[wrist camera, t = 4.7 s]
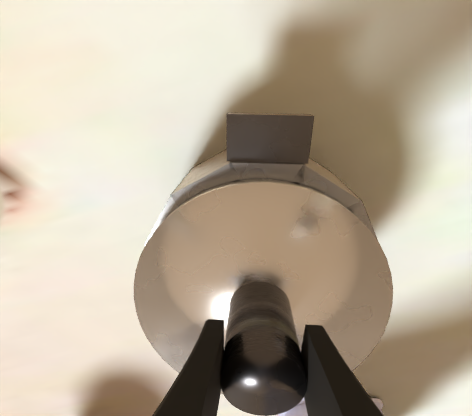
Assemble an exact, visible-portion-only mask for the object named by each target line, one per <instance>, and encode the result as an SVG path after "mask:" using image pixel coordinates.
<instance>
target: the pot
mask: <svg viewBox="0 0 472 416" xmlns="http://www.w3.org/2000/svg"><path fill="white" fill-rule="evenodd" d="M313 121H314V116H313V115H309V114H263V113H227V149H226V150H224V151H222V152H221V153H219V154H217V155H215V156H213V157H212V158H210V159H208V160H206V161H204V162H203V163H201V164H199V165H197V166H195V167H193V168H192V169H191V170H190V172H189V173H188V174H187V175H186V177H185V178H184V179H183V180H182V181H181V183H180V184H179V185H178V186H177V187H176V189H175V190H174V191H173V192H172V194H171V196H170V197H169V199H168V201H167V203H166V205H165V207H164V209H163V211H162V212H161V214H160V216H159V218H158V220H157V222H156V224H155V226H154V227H153V229H152V231H151V233H150V235H149V237H148V239H147V241H146V242H145V244H144V245H146V243H147V242H148V240H149V239H150V237H151V236H152V234H153V233H154V232H155V230H156V229H157V228H158V227H159V226H160V224H161V223H162V222H163V221H164V220H165V219H166V218H167V217H168V216H169V215H170V214H171V213H172V212H173V211H174V210H175V209H176V208H178V207H179V206H180V205H181V204H183V203H184V202H185V201H187V200H189V199H190V198H192V197H194V196H195V195H197V194H199V193H201V192H203V191H206V190H208V189H210V188H213V187H215V186H219V185H222V184H226V183H230V182H234V181H241V180H248V179H274V180H282V181H289V182H293V183H297V184H301V185H305V186H307V187H310V188H312V189H315V190H317V191H320V192H322V193H324V194H326V195H328V196H329V197H331V198H333V199H335V200H336V201H338V202H339V203H341V204H342V205H343V206H344V207H346V208H347V209H348V210H350V211H351V212H352V213H353V214H354V215H355V216H357V217H358V218H359V219H360V220H361V222H362V223H363V224H364V225H365V226H366V227H367V228H368V229H369V230H370V231H371V233H372V234H373V235H374V237H375V238H376V240H377V237H376V235H375V232H374V230H373V227H372V225H371V222H370V220H369V217H368V215H367V212H366V210H365V207H364V205H363V202H362V200H361V199H360V198H358V197H357V196H356V195H355V194H354V193H353V192H352V191H351V190H350V189H349V188H348V187H347V186H346V185H345V184H344V183H343V182H341V181H340V180H339V179H338V178H337V177H336V176H335V175H334V174H333V173H332V172H330V171H329V170H327V169H326V168H324V167H322V166H321V165H319V164H318V163H316V162H315V161H313V160H312V159H310V158H309V152H310V145H311V137H312V129H313ZM377 241H378V240H377ZM378 243H379V242H378Z"/></svg>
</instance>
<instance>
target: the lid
mask: <svg viewBox="0 0 472 416" xmlns="http://www.w3.org/2000/svg"><path fill="white" fill-rule="evenodd" d="M392 299H393V285H392V277H391V272H390V268H389V265H388V262H387V258H386V256H385V254H384V252H383V250H382V248H381V246H380V244H379V243H378V241H377V240H376V238H375V237H374V235H373V234H372V233H371V231H370V230H369V229H368V228H367V227H366V226H365V225H364V224H363V223H362V222H361V220H360V219H359V218H358V217H357V216H355V215H354V214H353V213H352V212H351V211H350V210H348V209H347V208H346V207H344V206H343V205H342V204H341V203H339V202H338V201H336V200H335V199H333V198H331V197H329V196H328V195H326V194H324V193H322V192H320V191H317V190H315V189H312V188H310V187H307V186H305V185H301V184H297V183H293V182H289V181H282V180H274V179H248V180H241V181H234V182H230V183H226V184H222V185H219V186H215V187H213V188H210V189H208V190H206V191H203V192H201V193H199V194H197V195H195V196H194V197H192V198H190V199H189V200H187V201H185V202H184V203H183V204H181V205H180V206H179V207H178V208H176V209H175V210H174V211H173V212H172V213H171V214H170V215H169V216H168V217H167V218H166V219H165V220H164V221H163V222H162V223H161V224H160V226H159V227H158V228H157V229H156V230H155V232H154V233H153V234H152V236H151V237H150V239H149V240H148V242H147V243H146V245H145V247H144V250H143V252H142V254H141V256H140V259H139V262H138V265H137V268H136V273H135V280H134V301H135V307H136V312H137V316H138V319H139V322H140V325H141V327H142V329H143V331H144V333H145V335H146V337H147V339H148V340H149V342H150V343H151V345H152V346H153V348H154V349H155V350H156V352H157V353H158V354H159V355H160V356H161V357H162V359H163V360H164V361H166V362H167V363H168V364H169V365H170V366H171V367H172V368H173V369H175V370H176V371H177V372H179V373H180V372H181V370H182V368H183V366H184V364H185V363H186V361H187V359H188V357H189V355H190V354H191V352H192V350H193V348H194V346H195V344H196V342H197V340H198V338H199V335H200V333H201V331H202V329H203V326H204V323H205V321H206V320H208V319H217V320H224V356H223V365H222V373H221V394H224V396H225V398H226V399H227V400H228V401H229V402H230V403H231V404H232V405H233V406H235V407H236V408H238V409H240V410H242V411H244V412H247V413H250V414H254V415H263V416H268V415H277V414H281V413H284V412H286V411H289V410H291V409H292V408H294V407H295V406H296V405H298V404H299V403H300V402H301V400H302V399H303V398H304V396H305V394H306V390H307V379H306V374H305V370H304V365H303V361H302V356H301V347H302V341H303V335H304V329H305V324H306V325H322V326H323V327H324V329H325V330H326V332H327V334H328V335H329V337H330V339H331V340H332V342H333V343H334V345H335V347H336V348H337V350H338V351H339V353H340V354H341V356H342V358H343V359H344V361H345V362H346V364H347V365H348V367H349V368H350V370H351V371H353V370H354V369H355V368H356V367H357V366H359V365H360V364H361V363H362V362H363V361H364V360H365V359H366V358H367V357H368V355H369V354H370V353H371V352H372V350H373V349H374V348H375V346H376V345H377V344H378V342H379V340H380V338H381V336H382V334H383V333H384V331H385V328H386V325H387V323H388V320H389V317H390V312H391V307H392Z"/></svg>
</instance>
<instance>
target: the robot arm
mask: <svg viewBox="0 0 472 416" xmlns="http://www.w3.org/2000/svg"><path fill="white" fill-rule="evenodd" d="M223 356H224V320H217V319H208V320H206V321H205V323H204V326H203V329H202V331H201V333H200V335H199V338H198V340H197V342H196V344H195V346H194V348H193V350H192V352H191V354H190V355H189V357H188V359H187V361H186V363H185V364H184V366H183V368H182V370H181V372H180V373H179V375H178V377H177V378H176V380H175V381H174V383H173V385H172V386H171V388H170V389H169V391H168V393H167V394H166V396H165V397H164V399H163V401H162V402H161V404H160V405H159V407H158V408H157V410H156V411H155V412H154V414H153V415H152V416H217V410H218V404H219V399H220V393H221V373H222V365H223ZM301 356H302V361H303V365H304V370H305V374H306V379H307V390H306V394H305V396H304V398H303V399H302V400H301V402H300V403H299V404H298V405H296V406H295V407H294V408H292V409H291V410H289V411H286V412H284V413H281V414H278V415H277V416H384V414H383V412H382V408H383V402H382V400H380V399H378V398H370V396H369V395H368V394H367V392H366V391H365V390H364V388H363V387H362V385H361V384H360V382H359V381H358V380H357V378H356V377H355V375H354V374H353V372H352V371H351V370H350V368H349V367H348V365H347V364H346V362H345V361H344V359H343V358H342V356H341V354H340V353H339V351H338V350H337V348H336V347H335V345H334V343H333V342H332V340H331V339H330V337H329V335H328V334H327V332H326V330H325V329H324V327H323V326H322V325H306V324H305V329H304V335H303V341H302V347H301Z"/></svg>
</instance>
